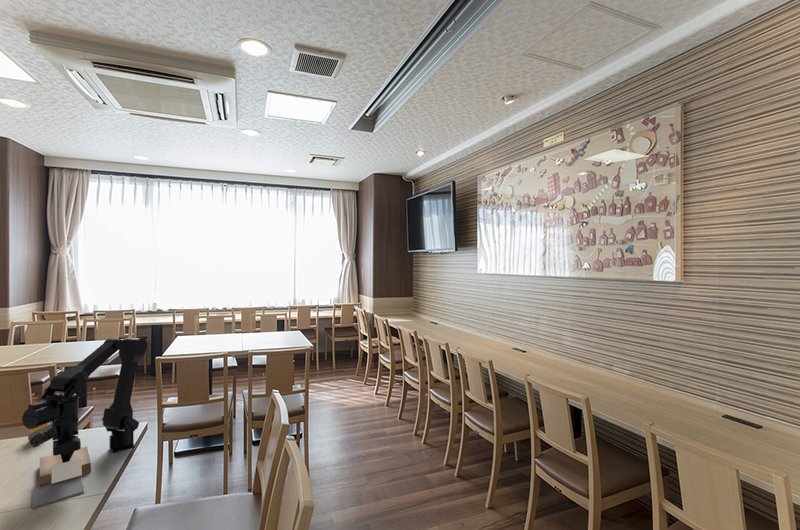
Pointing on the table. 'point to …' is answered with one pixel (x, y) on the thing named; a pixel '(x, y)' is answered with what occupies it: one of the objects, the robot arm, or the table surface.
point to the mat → (56, 491)
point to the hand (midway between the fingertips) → (65, 464)
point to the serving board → (54, 460)
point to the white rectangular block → (66, 471)
